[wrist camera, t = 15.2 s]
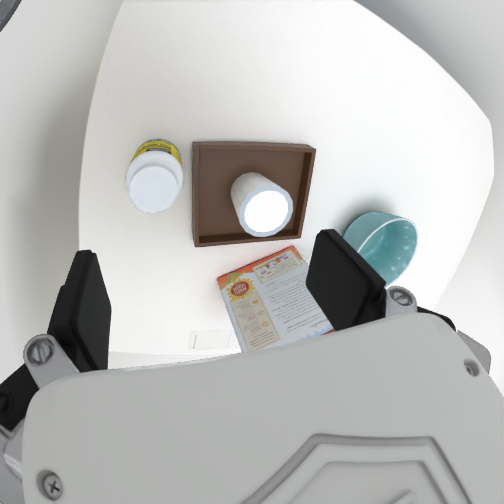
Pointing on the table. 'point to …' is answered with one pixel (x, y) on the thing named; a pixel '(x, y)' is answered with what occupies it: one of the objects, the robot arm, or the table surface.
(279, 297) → the cracker box
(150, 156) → the pill bottle
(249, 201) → the white cylinder
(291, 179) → the tray
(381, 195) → the table surface
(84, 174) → the table surface
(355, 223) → the bowl
